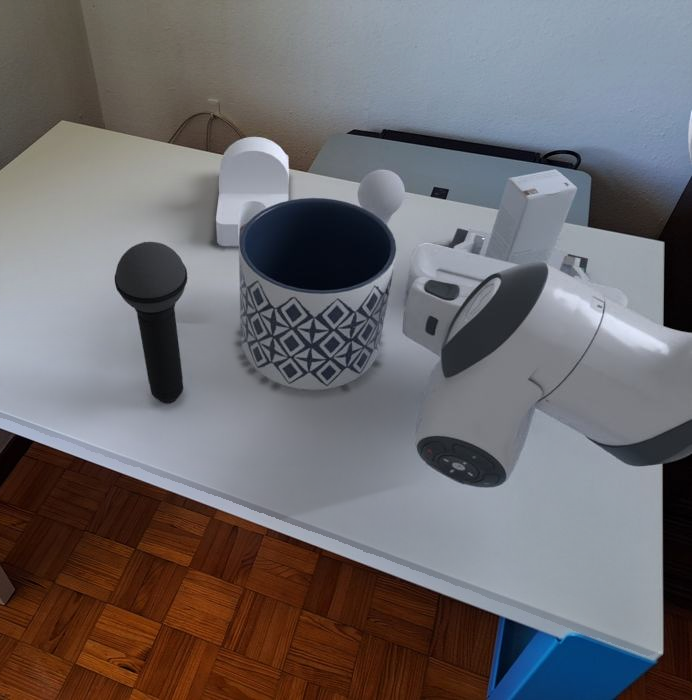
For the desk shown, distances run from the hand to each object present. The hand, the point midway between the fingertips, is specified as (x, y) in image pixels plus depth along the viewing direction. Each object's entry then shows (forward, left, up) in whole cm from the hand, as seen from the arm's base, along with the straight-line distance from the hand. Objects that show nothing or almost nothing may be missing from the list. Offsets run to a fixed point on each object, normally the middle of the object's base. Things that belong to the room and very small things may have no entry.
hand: (522, 250), depth 72 cm
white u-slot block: (+36, -11, -12) cm, 39 cm away
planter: (+19, +11, -12) cm, 25 cm away
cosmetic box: (0, -7, -8) cm, 11 cm away
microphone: (+30, +25, -12) cm, 41 cm away
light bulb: (+18, -11, -12) cm, 24 cm away
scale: (0, -7, -12) cm, 14 cm away
